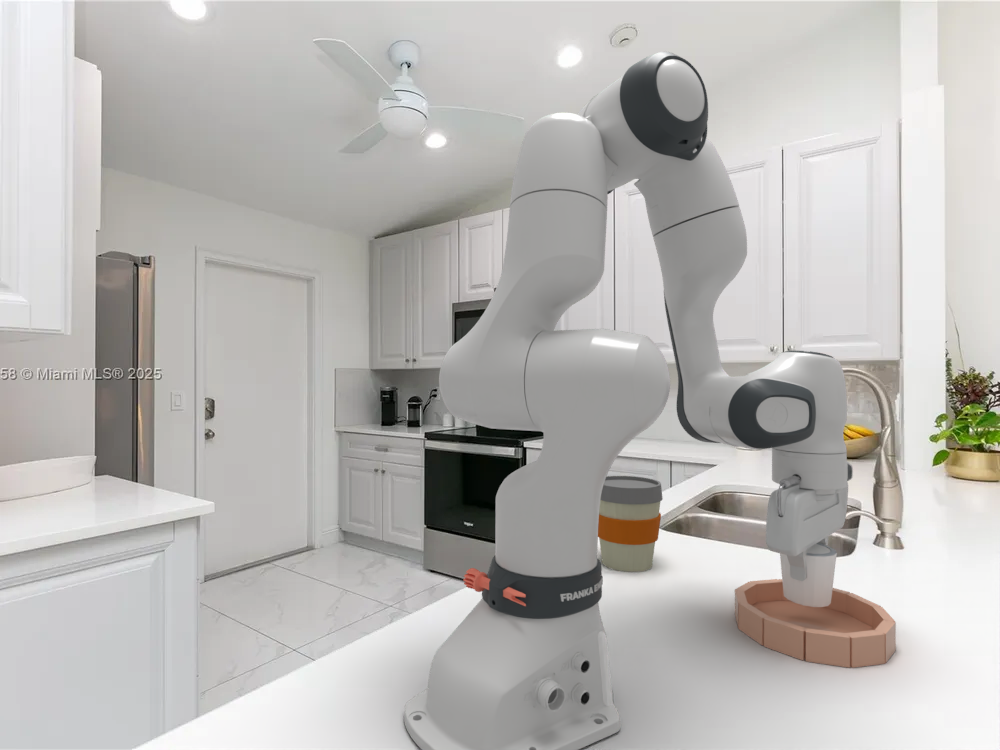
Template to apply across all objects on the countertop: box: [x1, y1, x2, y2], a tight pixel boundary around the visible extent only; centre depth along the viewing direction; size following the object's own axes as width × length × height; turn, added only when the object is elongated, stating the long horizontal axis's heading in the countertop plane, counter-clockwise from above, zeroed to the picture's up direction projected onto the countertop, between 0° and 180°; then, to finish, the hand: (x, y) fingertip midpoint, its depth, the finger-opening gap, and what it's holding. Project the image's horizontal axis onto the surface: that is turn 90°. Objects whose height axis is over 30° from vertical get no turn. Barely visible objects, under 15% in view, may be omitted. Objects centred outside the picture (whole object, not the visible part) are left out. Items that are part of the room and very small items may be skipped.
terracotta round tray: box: [734, 578, 897, 669], centre depth 73 cm, size 18×18×4 cm
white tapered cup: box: [779, 543, 838, 607], centre depth 74 cm, size 7×7×7 cm
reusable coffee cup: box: [598, 475, 663, 573], centre depth 100 cm, size 13×13×15 cm
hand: (807, 572), depth 74 cm, fingers closed on white tapered cup, 5 cm apart
